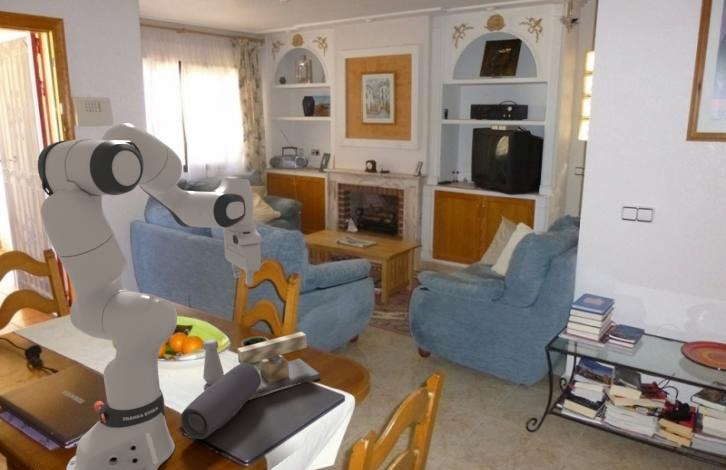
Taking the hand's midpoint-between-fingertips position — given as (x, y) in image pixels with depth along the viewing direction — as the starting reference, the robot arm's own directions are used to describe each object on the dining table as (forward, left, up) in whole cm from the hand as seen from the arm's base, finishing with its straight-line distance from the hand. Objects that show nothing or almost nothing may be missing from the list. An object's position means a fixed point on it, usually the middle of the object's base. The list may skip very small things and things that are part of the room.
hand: (243, 280), depth 156 cm
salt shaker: (-10, +3, -30) cm, 32 cm away
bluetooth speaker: (-14, -19, -29) cm, 38 cm away
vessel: (+6, +10, -30) cm, 32 cm away
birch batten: (+5, -7, -22) cm, 23 cm away
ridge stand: (+5, -7, -30) cm, 31 cm away
